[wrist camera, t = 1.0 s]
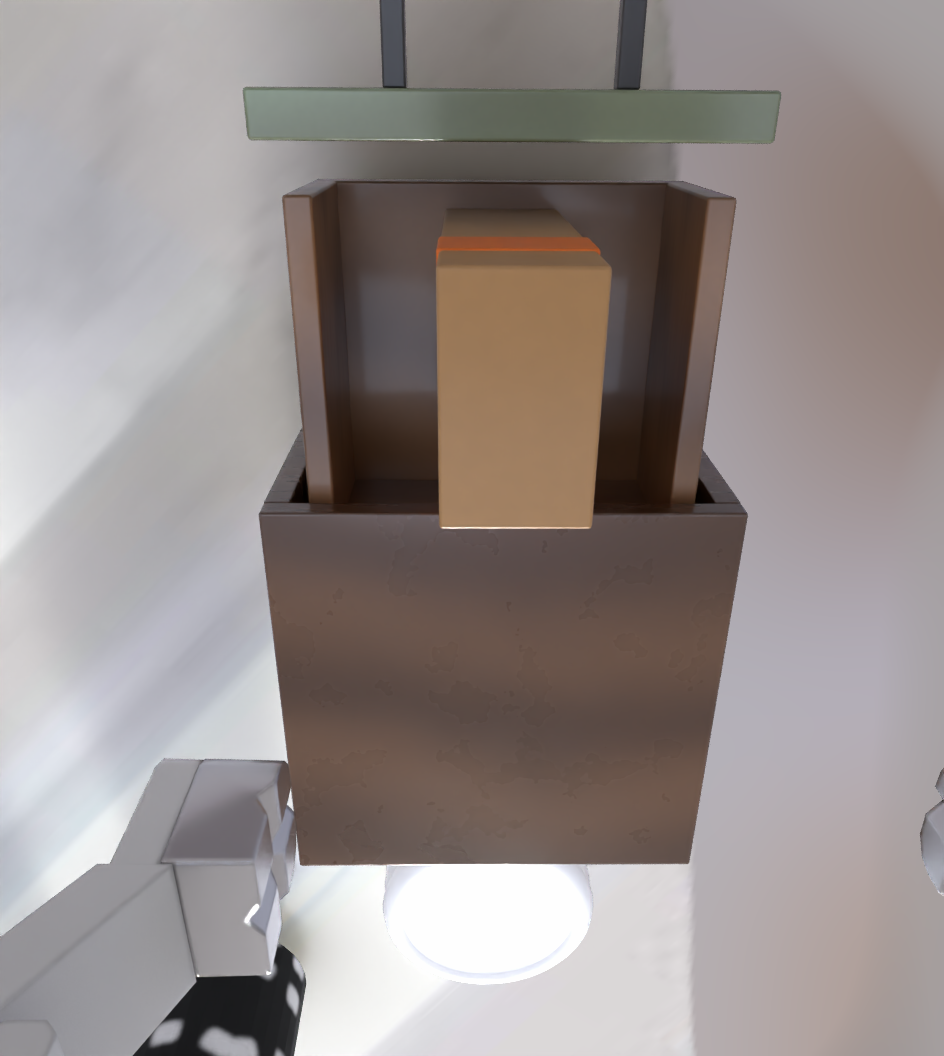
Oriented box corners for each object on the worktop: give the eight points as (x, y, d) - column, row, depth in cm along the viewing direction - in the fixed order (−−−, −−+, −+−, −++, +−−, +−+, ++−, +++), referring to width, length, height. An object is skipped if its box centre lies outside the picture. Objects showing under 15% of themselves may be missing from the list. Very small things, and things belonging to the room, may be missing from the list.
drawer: (271, -118, 24) (212, -188, 18) (739, -113, 24) (824, -181, 18) (320, 486, 32) (290, 566, 27) (667, 487, 32) (710, 566, 27)
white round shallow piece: (605, 904, 44) (616, 965, 41) (425, 945, 45) (422, 1007, 42) (556, 764, 40) (564, 820, 37) (358, 813, 41) (350, 872, 38)
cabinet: (303, 422, 32) (257, 513, 25) (684, 423, 32) (749, 513, 25) (330, 724, 39) (299, 866, 31) (646, 723, 39) (689, 865, 32)
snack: (443, 206, 27) (433, 262, 17) (559, 207, 27) (616, 263, 17) (445, 391, 30) (436, 532, 20) (550, 391, 30) (594, 531, 20)
